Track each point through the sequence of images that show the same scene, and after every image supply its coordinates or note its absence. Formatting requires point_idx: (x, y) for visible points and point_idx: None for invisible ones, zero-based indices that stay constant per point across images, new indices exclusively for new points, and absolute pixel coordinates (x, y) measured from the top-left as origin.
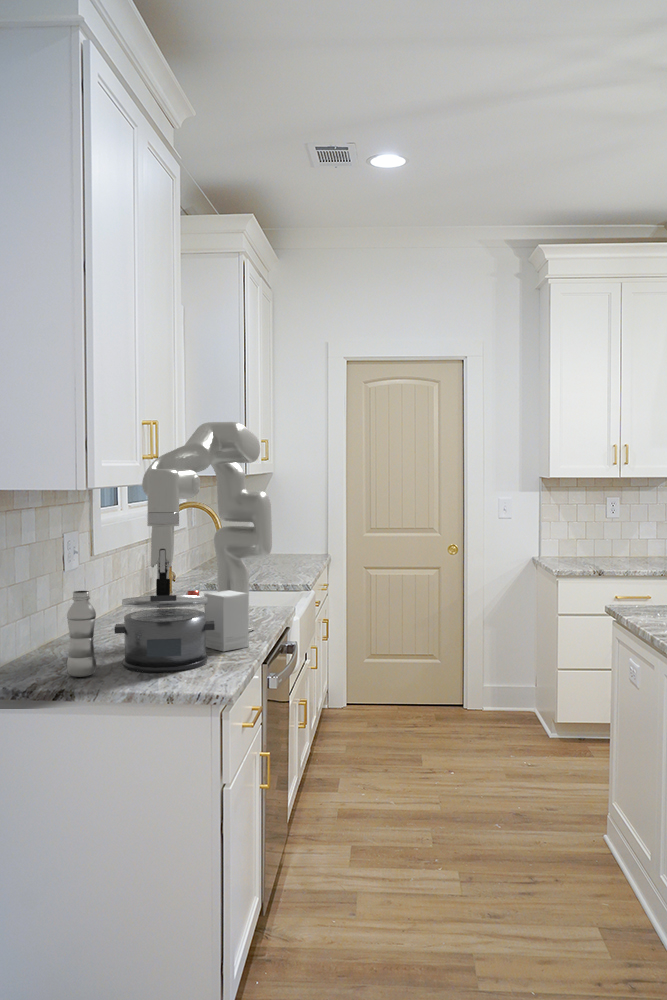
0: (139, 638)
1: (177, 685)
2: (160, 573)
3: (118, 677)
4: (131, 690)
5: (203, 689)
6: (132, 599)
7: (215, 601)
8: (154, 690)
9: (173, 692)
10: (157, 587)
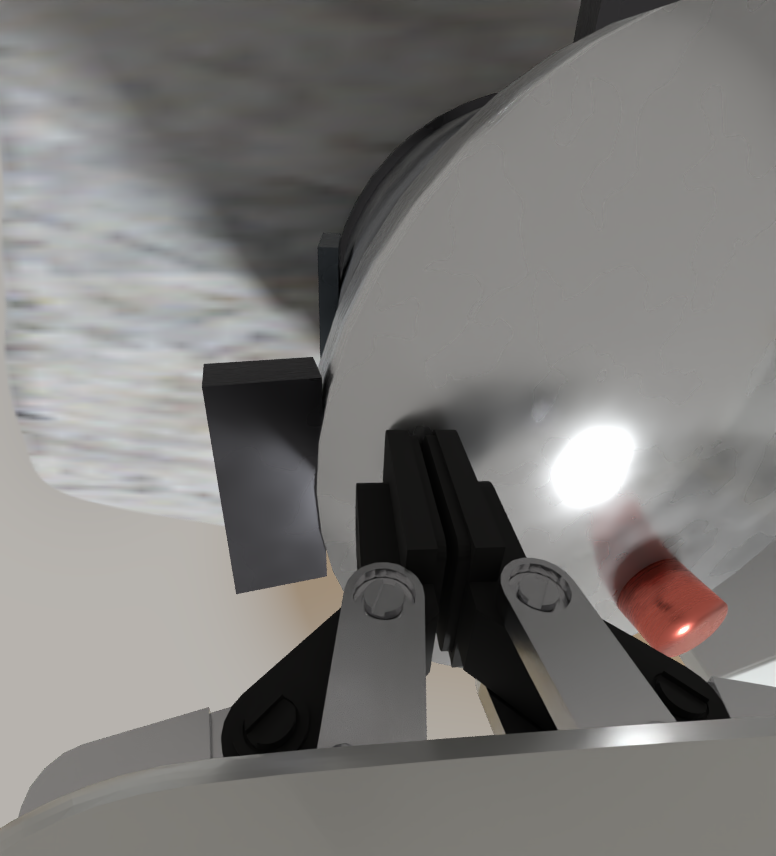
0: (382, 198)
1: (134, 345)
2: (171, 722)
3: (280, 72)
4: (39, 152)
5: (84, 427)
6: (468, 141)
7: (755, 626)
8: (51, 257)
9: (31, 330)
10: (395, 489)
